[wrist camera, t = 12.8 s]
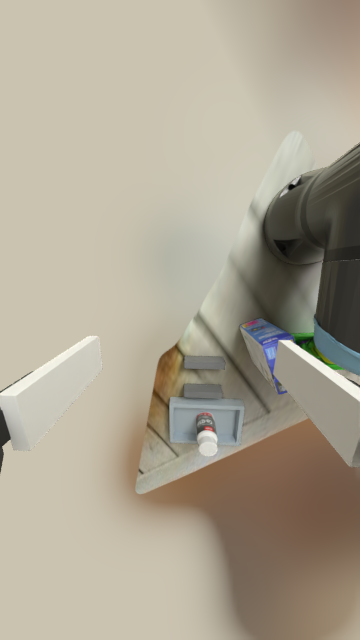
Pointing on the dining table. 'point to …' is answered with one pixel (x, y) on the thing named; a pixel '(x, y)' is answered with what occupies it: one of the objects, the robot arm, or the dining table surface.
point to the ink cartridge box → (264, 347)
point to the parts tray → (223, 410)
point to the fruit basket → (313, 348)
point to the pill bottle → (206, 434)
